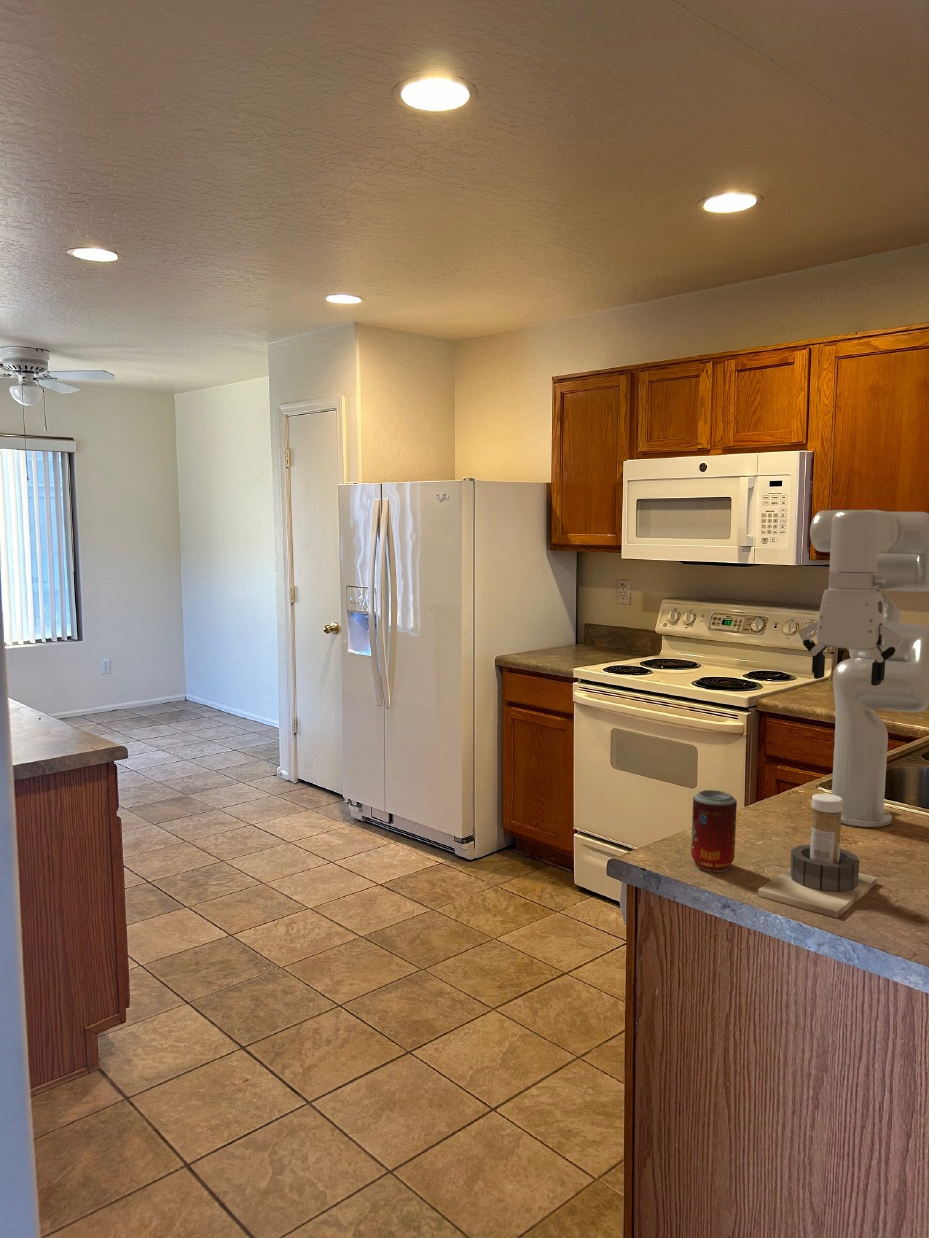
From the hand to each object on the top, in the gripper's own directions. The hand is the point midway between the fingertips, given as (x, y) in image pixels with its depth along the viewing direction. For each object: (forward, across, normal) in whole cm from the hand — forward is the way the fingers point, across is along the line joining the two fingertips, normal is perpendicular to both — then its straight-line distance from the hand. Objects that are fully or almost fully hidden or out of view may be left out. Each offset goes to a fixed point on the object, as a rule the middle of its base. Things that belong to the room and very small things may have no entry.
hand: (846, 681), depth 158 cm
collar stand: (+30, -4, +20) cm, 37 cm away
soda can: (+31, +13, +22) cm, 40 cm away
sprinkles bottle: (+30, -4, +18) cm, 35 cm away
